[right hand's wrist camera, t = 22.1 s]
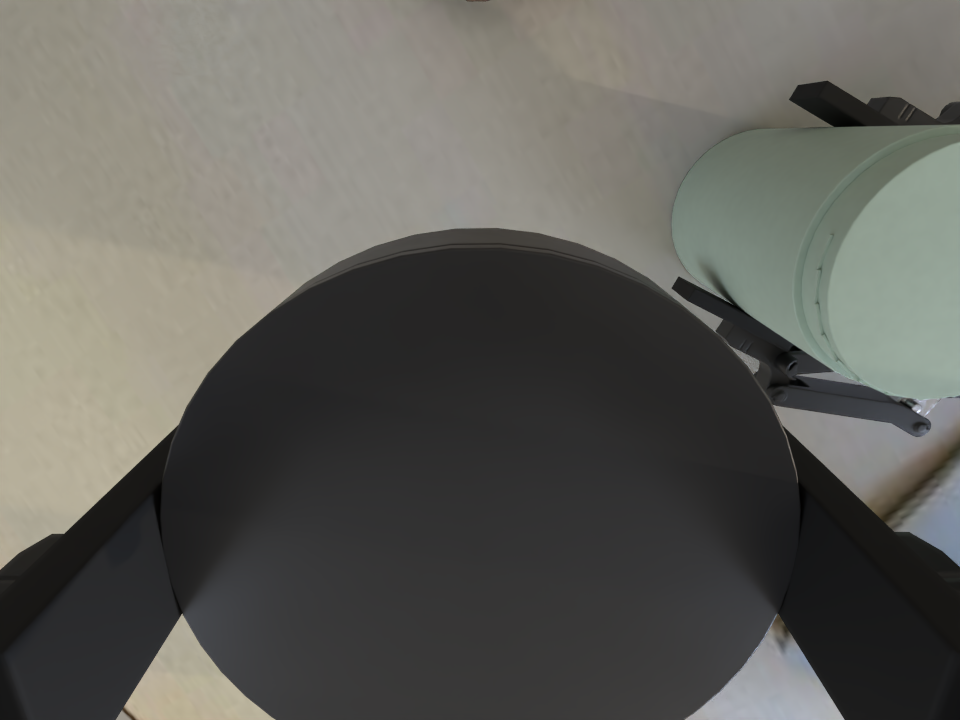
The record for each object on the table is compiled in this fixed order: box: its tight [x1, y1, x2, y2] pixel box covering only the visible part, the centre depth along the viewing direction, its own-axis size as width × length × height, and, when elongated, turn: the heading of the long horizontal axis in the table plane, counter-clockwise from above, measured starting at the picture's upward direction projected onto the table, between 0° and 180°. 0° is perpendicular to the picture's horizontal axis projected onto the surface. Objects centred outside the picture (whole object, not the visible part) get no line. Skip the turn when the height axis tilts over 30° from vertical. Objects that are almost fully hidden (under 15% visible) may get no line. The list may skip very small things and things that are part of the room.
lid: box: [160, 228, 801, 720], centre depth 12 cm, size 11×11×2 cm
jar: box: [671, 125, 960, 400], centre depth 29 cm, size 10×10×17 cm
